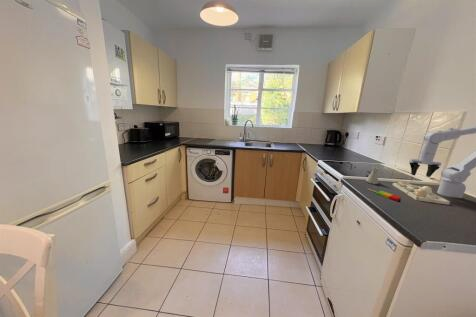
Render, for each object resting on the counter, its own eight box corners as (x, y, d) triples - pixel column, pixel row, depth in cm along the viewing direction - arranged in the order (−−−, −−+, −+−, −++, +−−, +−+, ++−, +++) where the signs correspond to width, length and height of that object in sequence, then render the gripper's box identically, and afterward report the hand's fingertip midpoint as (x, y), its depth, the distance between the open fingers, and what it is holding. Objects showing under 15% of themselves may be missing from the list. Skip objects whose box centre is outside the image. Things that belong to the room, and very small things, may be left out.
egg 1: (421, 196, 100) (424, 188, 99) (427, 200, 96) (430, 191, 95) (411, 195, 101) (414, 186, 100) (417, 199, 97) (420, 189, 96)
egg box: (418, 189, 113) (419, 186, 113) (448, 205, 93) (450, 201, 93) (391, 186, 116) (392, 182, 115) (416, 201, 96) (417, 197, 95)
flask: (381, 185, 115) (385, 170, 113) (368, 183, 117) (372, 168, 114) (375, 181, 122) (379, 167, 120) (363, 180, 123) (367, 165, 121)
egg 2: (426, 193, 106) (429, 185, 104) (432, 197, 101) (435, 188, 100) (417, 192, 106) (420, 184, 105) (422, 195, 102) (426, 187, 101)
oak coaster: (408, 183, 123) (408, 182, 123) (416, 188, 116) (417, 187, 115) (394, 181, 125) (395, 180, 124) (402, 186, 117) (402, 185, 117)
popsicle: (396, 202, 93) (397, 199, 93) (364, 191, 105) (365, 187, 105) (400, 200, 96) (401, 197, 96) (368, 189, 108) (369, 186, 108)
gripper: (437, 153, 108) (429, 175, 112) (408, 150, 111) (402, 172, 114) (447, 156, 102) (439, 179, 105) (417, 152, 104) (409, 175, 108)
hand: (420, 175), depth 109 cm, fingers open, 7 cm apart
